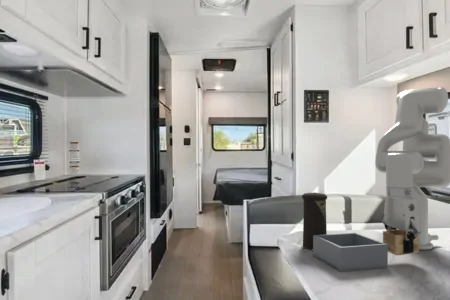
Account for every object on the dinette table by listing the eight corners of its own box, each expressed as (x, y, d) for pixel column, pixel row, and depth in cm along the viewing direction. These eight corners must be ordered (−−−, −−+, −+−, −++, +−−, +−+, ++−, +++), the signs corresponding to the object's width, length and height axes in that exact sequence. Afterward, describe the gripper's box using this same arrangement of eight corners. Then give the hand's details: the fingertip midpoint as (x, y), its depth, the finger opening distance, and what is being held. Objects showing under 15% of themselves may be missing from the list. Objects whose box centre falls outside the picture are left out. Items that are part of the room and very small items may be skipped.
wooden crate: (404, 246, 114) (403, 228, 114) (418, 252, 108) (418, 233, 108) (383, 249, 112) (382, 231, 112) (396, 255, 106) (396, 235, 106)
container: (328, 251, 123) (328, 194, 123) (302, 249, 125) (302, 193, 125) (326, 245, 131) (326, 191, 132) (301, 243, 133) (301, 191, 133)
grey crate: (355, 253, 121) (355, 232, 121) (387, 267, 105) (387, 244, 106) (313, 256, 117) (313, 235, 117) (340, 272, 101) (340, 247, 101)
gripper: (432, 195, 102) (432, 256, 103) (390, 187, 119) (391, 240, 119) (410, 197, 100) (411, 259, 101) (371, 189, 117) (372, 242, 118)
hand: (400, 248), depth 110 cm, fingers closed on wooden crate, 6 cm apart
